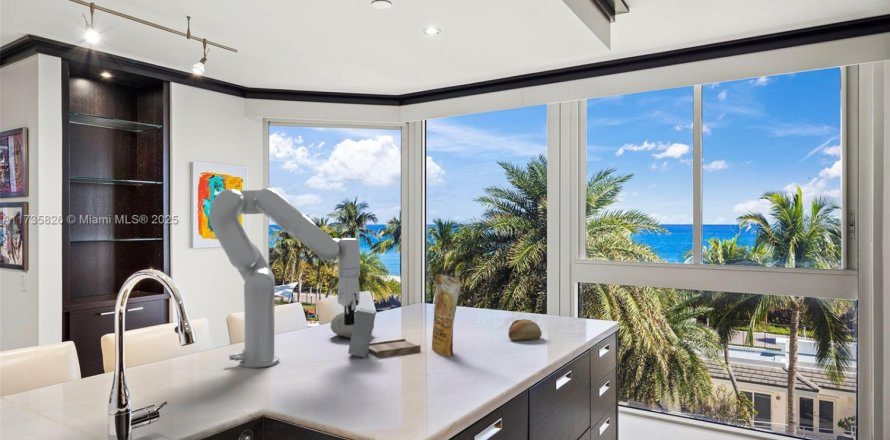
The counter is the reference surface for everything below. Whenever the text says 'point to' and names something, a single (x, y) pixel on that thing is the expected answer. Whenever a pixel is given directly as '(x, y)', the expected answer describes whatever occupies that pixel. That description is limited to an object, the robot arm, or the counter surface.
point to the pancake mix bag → (445, 313)
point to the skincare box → (362, 332)
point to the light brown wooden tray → (392, 348)
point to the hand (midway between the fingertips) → (349, 324)
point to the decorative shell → (342, 326)
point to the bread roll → (524, 330)
